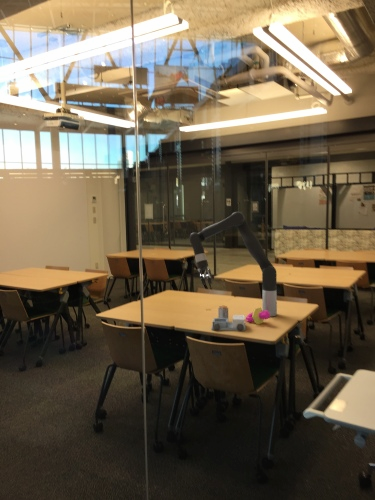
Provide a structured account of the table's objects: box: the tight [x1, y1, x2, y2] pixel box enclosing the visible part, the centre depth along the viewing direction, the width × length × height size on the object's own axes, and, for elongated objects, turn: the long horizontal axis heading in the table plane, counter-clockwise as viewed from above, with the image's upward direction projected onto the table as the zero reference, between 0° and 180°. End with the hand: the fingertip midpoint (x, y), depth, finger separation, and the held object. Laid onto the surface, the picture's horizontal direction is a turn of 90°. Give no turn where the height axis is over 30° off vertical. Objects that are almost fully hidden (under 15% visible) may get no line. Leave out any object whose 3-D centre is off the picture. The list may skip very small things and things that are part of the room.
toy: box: [245, 307, 271, 325], centre depth 257 cm, size 10×18×10 cm, turn 42°
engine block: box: [217, 305, 229, 319], centre depth 262 cm, size 4×4×10 cm
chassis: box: [211, 314, 246, 332], centre depth 248 cm, size 20×14×6 cm
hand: (207, 284), depth 275 cm, fingers open, 8 cm apart
